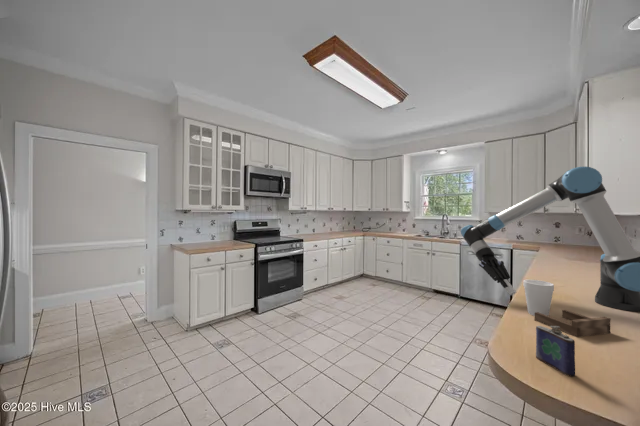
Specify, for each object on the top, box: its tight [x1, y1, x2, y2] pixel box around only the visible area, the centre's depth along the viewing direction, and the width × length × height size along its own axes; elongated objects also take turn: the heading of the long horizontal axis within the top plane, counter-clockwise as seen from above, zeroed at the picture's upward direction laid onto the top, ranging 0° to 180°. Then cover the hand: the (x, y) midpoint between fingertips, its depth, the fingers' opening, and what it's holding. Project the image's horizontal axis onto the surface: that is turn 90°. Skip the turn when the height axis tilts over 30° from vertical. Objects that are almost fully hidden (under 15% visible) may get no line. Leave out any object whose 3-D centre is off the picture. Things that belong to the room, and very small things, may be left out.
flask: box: [535, 325, 576, 378], centre depth 67 cm, size 9×3×11 cm, turn 8°
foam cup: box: [522, 279, 555, 317], centre depth 103 cm, size 10×9×13 cm
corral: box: [534, 309, 611, 338], centre depth 92 cm, size 15×14×5 cm
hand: (512, 293), depth 114 cm, fingers closed
